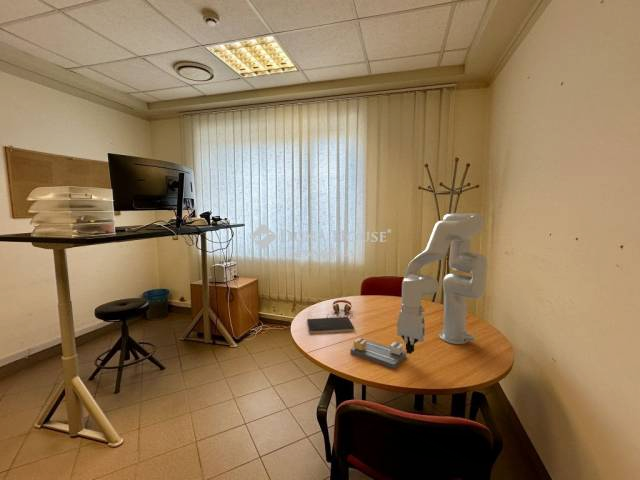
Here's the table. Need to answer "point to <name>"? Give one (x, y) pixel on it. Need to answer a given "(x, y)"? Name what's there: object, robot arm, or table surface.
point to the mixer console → (379, 354)
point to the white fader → (396, 348)
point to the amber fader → (360, 344)
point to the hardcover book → (330, 325)
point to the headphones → (346, 308)
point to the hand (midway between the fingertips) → (409, 352)
